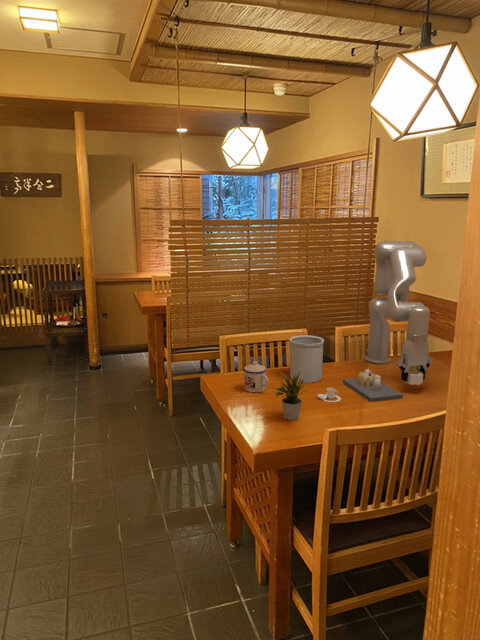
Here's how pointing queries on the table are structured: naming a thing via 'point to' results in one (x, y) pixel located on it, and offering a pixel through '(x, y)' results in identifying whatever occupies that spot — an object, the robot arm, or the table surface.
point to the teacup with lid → (255, 378)
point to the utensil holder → (306, 357)
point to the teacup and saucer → (329, 395)
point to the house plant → (291, 397)
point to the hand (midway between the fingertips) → (412, 379)
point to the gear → (414, 377)
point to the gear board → (372, 387)
